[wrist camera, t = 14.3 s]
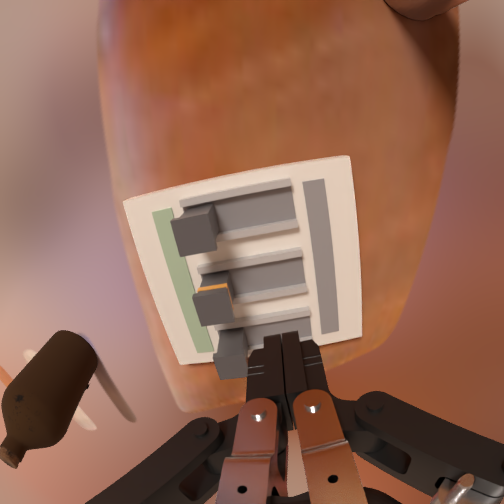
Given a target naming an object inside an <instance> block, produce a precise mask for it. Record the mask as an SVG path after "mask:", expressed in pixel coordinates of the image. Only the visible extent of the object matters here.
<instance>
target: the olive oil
mask: <svg viewBox="0 0 504 504" xmlns="http://www.w3.org/2000/svg"><path fill="white" fill-rule="evenodd" d="M96 367H97V357H96V354H95V352H94V350H93V349H92V347H91V346H90V345H89V344H88V343H87V342H86V341H85V340H84V339H83V338H82V337H80V336H79V335H77V334H75V333H73V332H70V331H66V330H61V331H58V332H56V333H55V334H54V335H53V336H52V337H51V338H50V339H49V341H48V342H47V343H46V344H45V345H44V346H43V347H42V348H41V350H40V351H39V352H38V353H37V354H36V355H35V356H34V357H33V358H32V360H31V361H30V362H29V363H28V364H27V365H26V366H25V368H24V369H23V370H22V371H21V372H20V373H19V374H18V375H17V376H16V378H15V379H14V380H13V381H12V382H11V383H10V384H9V386H8V387H7V388H6V390H5V392H4V395H3V398H2V405H1V406H2V413H3V418H4V422H5V426H6V430H7V436H6V438H5V439H4V441H3V442H2V444H1V446H0V447H1V448H0V459H1V460H2V461H4V462H5V463H6V464H7V465H9V466H11V467H12V468H15V469H16V468H17V467H18V464H19V462H21V461H22V459H23V457H24V455H25V453H26V451H27V450H31V449H39V448H46V447H50V446H53V445H55V444H57V443H58V442H59V441H60V440H61V439H62V438H63V437H64V435H65V434H66V432H67V429H68V427H69V425H70V422H71V420H72V418H73V415H74V413H75V411H76V408H77V406H78V404H79V402H80V400H81V398H82V395H83V393H84V391H85V390H86V389H88V387H89V385H88V383H89V381H90V379H91V377H92V375H93V373H94V371H95V370H96Z"/></svg>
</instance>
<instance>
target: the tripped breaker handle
mask: <svg viewBox="0 0 504 504" xmlns="http://www.w3.org/2000/svg"><path fill="white" fill-rule="evenodd" d="M197 292H198V293H195V294H193V296H192V300H193V303H194V306H195V309H196V312H197V315H198V318H199V321H200V324H201V327H204V326H211V325H218V324H225V323H232V322H235V316H234V312H233V311H234V308H233V301H234V290H233V286H232V282H231V278H230V274H229V271H225V272H219V273H213V274H208V275H204V276H203V279H202V282H201V285H200V288H198V290H197Z"/></svg>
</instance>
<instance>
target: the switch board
mask: <svg viewBox="0 0 504 504" xmlns="http://www.w3.org/2000/svg"><path fill="white" fill-rule="evenodd" d="M123 205H124V208H125V212H126V215H127V219H128V222H129V226H130V229H131V232H132V236H133V239H134V242H135V245H136V248H137V252H138V255H139V258H140V261H141V264H142V267H143V270H144V273H145V276H146V279H147V282H148V284H149V287H150V290H151V293H152V296H153V298H154V301H155V304H156V306H157V309H158V312H159V314H160V317H161V320H162V322H163V325H164V327H165V330H166V332H167V335H168V337H169V340H170V342H171V345H172V347H173V349H174V352H175V354H176V357H177V359H178V361H179V364H180V365H183V364H194V363H205V362H214V364H215V366H216V369H217V372H218V375H219V377H220V380H224V379H234V378H242V377H247V376H248V374H247V373H248V357H249V356H250V355H251V353H252V351H253V350H254V349H261V348H264V342H263V338H264V336H269V335H275V334H281V338H282V333H285V332H291V331H296V330H298V333H299V339H300V341H305V340H310V339H312V340H313V341H314V342H315V343H316V344H317V345H318V346H319V345H324V344H329V343H334V342H339V341H344V340H348V339H353V338H357V337H361V336H362V294H361V269H360V251H359V237H358V225H357V214H356V204H355V194H354V186H353V178H352V170H351V162H350V156H346V155H342V156H335V157H327V158H320V159H314V160H307V161H301V162H294V163H288V164H282V165H276V166H271V167H265V168H260V169H254V170H249V171H244V172H239V173H234V174H229V175H224V176H219V177H214V178H210V179H205V180H201V181H196V182H192V183H188V184H183V185H179V186H175V187H171V188H167V189H163V190H159V191H155V192H151V193H147V194H143V195H139V196H136V197H132V198H129V199H127V200H125V201H123ZM225 271H229V274H230V278H231V282H232V286H233V290H234V301H233V308H234V311H233V312H234V316H235V322H232V323H225V324H218V325H211V326H204V327H201V324H200V321H199V318H198V315H197V312H196V309H195V306H194V303H193V300H192V296H193V294H195V293H198V292H197V290H198V288H200V285H201V282H202V279H203V276H204V275H208V274H213V273H219V272H225Z"/></svg>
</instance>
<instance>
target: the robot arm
mask: <svg viewBox="0 0 504 504" xmlns="http://www.w3.org/2000/svg"><path fill="white" fill-rule="evenodd" d="M385 1H386V2H387V4H388V5H389V6H390V7H392V8H393V9H394V10H395V11H397V12H398V13H400V14H401V15H403V16H405V17H408V18H410V19H414V20H427V19H429V18H431V17H433V16H435V15H437V14H438V15H441V14H443V13H444V12H446V11H448V10H450V9H452V8H454V7H456V6H458V5H460V4H462V3H464V2H466V1H468V0H385ZM263 342H264V348H261V349H254V350H253V351H252V353H251V355H250V356H249V358H248V373H247V374H248V376H247V390H246V403H245V404H244V405H243V406H242V407H241V409H240V412H239V414H238V415H236V416H235V417H233V418H231V419H228V420H225V421H222V422H219V423H217V422H216V421H215V420H214V419H211V418H208V417H201V418H197V419H195V420H192V421H191V422H189V423H188V424H187V425H186V426H185V427H184V428H182V429H181V430H180V431H179V432H178V433H177V434H175V435H174V436H173V437H172V438H170V439H169V440H168V441H167V442H166V443H164V444H163V445H162V446H161V447H160V448H158V449H157V450H156V451H155V452H153V453H152V454H151V455H150V456H148V457H147V458H146V459H145V460H143V461H142V462H141V463H140V464H138V465H137V466H136V467H134V468H133V469H132V470H130V471H129V472H128V473H127V474H125V475H124V476H123V477H121V478H120V479H119V480H117V481H116V482H115V483H113V484H112V485H110V486H109V487H108V488H107V489H105V490H103V491H102V492H101V493H99V494H98V495H96V496H95V497H94V498H92V499H91V500H89V501H88V502H86V503H85V504H204V503H205V502H206V501H207V500H208V499H209V498H211V497H212V496H213V495H214V494H215V493H216V492H217V491H218V492H217V498H216V502H215V504H402V503H400V502H398V501H397V500H395V499H394V498H392V497H391V496H389V495H387V494H386V493H383V492H381V491H379V490H376V489H372V488H367V487H363V486H362V483H361V479H360V476H359V473H358V470H357V467H356V463H355V460H354V457H353V454H352V452H356V454H357V455H358V456H360V457H361V458H363V459H364V460H366V461H368V462H369V463H371V464H373V465H374V466H376V467H378V468H379V469H381V470H383V471H385V472H386V473H388V474H390V475H392V476H393V477H395V478H397V479H399V480H401V481H402V482H404V483H406V484H408V485H410V486H412V487H414V488H415V489H417V490H419V491H421V492H423V493H425V494H427V495H429V496H431V497H432V499H431V503H430V504H500V503H501V501H502V499H503V497H504V444H502V443H499V442H496V441H494V440H491V439H489V438H486V437H484V436H481V435H479V434H476V433H474V432H472V431H469V430H467V429H464V428H462V427H460V426H457V425H455V424H452V423H450V422H448V421H446V420H443V419H441V418H439V417H436V416H434V415H432V414H430V413H427V412H425V411H423V410H421V409H419V408H417V407H414V406H412V405H410V404H408V403H406V402H404V401H401V400H399V399H397V398H395V397H393V396H391V395H389V394H387V393H385V392H380V391H373V392H369V393H366V394H364V395H362V396H361V397H360V398H359V399H358V400H357V401H349V400H341V399H338V398H336V397H335V396H333V395H332V394H331V393H330V391H329V389H328V385H327V381H326V376H325V371H324V367H323V363H322V358H321V354H320V350H319V346H318V345H317V344H316V343H315V342H314V341H313V340H312V339H310V340H305V341H300V339H299V333H298V330H296V331H291V332H285V333H282V338H281V334H275V335H269V336H264V338H263ZM293 423H294V426H295V429H297V430H298V435H299V441H300V446H301V453H302V459H303V464H304V469H305V475H306V479H307V485H308V490H309V491H308V492H305V493H303V494H300V495H297V496H294V497H288V491H287V470H288V431H290V430H293Z"/></svg>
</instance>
